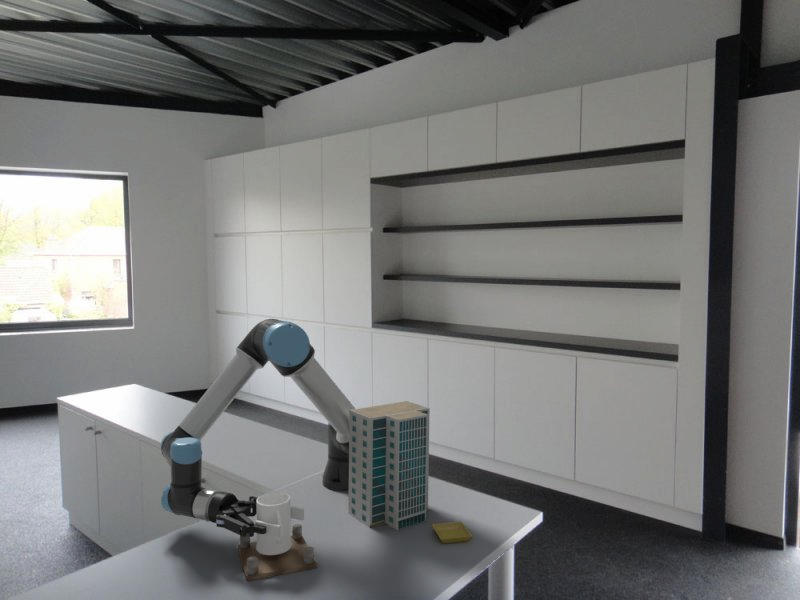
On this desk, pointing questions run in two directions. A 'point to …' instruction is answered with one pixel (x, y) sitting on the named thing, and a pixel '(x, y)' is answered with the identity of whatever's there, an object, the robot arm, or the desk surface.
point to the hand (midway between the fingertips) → (291, 522)
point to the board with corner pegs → (276, 557)
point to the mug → (274, 522)
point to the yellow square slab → (452, 532)
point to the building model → (389, 464)
